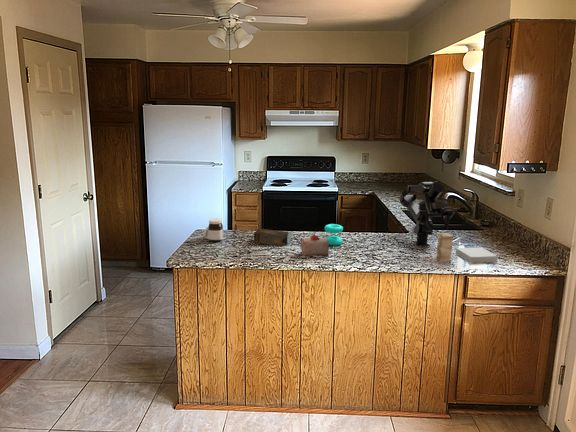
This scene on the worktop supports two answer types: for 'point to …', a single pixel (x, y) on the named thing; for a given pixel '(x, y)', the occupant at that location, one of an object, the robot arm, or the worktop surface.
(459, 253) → the light grey slab
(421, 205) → the aerosol can
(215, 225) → the spread jar
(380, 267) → the worktop surface
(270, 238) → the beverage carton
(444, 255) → the birch block
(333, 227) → the donuts
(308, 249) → the food item
